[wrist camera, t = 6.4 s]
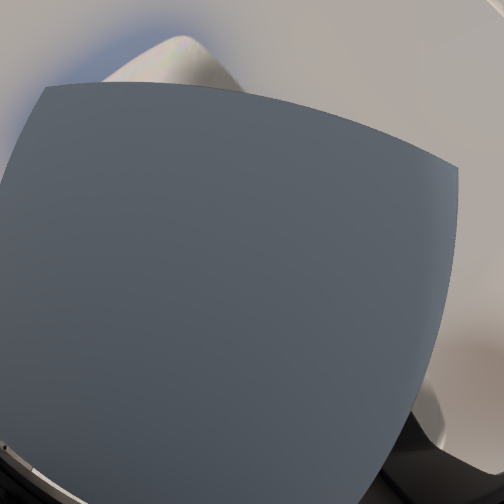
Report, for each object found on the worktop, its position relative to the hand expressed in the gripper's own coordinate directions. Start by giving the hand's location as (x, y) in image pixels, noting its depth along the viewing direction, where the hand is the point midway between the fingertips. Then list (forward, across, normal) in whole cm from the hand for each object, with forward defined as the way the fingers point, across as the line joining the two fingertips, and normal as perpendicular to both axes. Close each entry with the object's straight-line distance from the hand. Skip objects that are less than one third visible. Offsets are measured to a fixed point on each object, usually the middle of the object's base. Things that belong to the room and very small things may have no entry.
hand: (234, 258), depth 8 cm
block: (+4, 0, +6) cm, 7 cm away
